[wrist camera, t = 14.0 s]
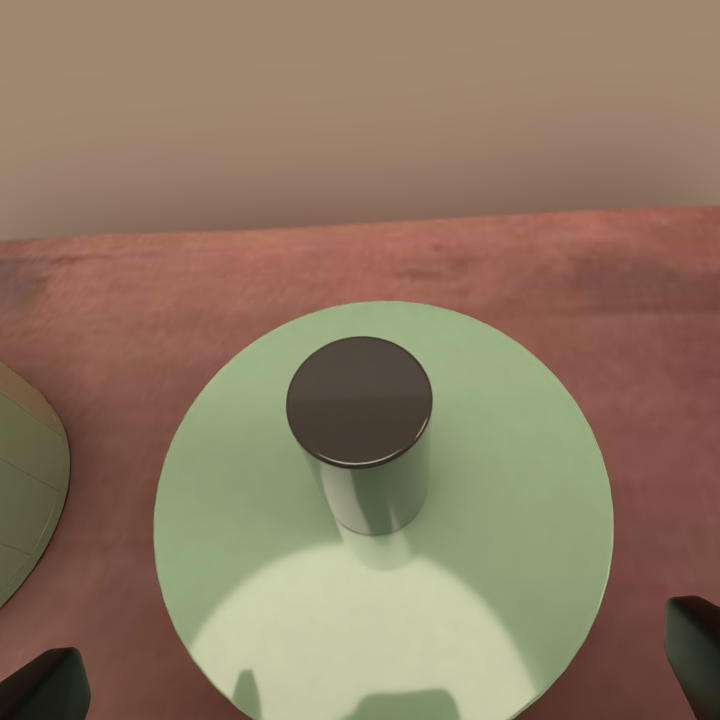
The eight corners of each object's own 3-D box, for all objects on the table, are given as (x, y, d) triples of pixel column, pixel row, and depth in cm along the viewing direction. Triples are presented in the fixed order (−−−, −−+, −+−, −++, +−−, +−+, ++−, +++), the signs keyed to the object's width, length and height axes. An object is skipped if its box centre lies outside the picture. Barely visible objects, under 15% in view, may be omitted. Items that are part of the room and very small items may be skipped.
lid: (661, 420, 16) (780, 288, 11) (481, 889, 11) (537, 1062, 6) (319, 272, 20) (284, 122, 15) (81, 574, 15) (-97, 513, 10)
